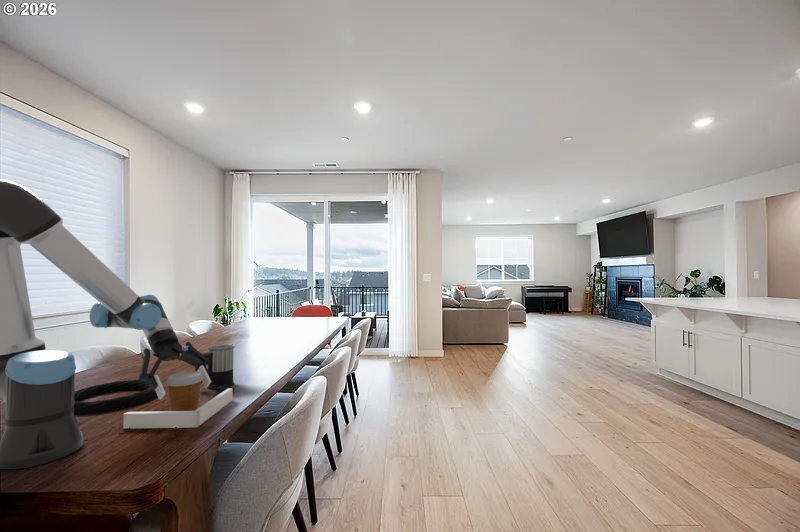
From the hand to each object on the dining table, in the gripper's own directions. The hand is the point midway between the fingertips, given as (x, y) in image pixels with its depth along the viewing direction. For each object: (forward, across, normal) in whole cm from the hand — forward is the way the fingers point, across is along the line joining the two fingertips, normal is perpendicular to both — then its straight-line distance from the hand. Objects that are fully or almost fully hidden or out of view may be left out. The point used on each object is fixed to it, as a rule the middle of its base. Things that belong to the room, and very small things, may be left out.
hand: (186, 390), depth 109 cm
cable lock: (-21, +3, -33) cm, 39 cm away
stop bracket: (+3, -1, -8) cm, 8 cm away
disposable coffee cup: (+5, 0, -6) cm, 8 cm away
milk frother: (-5, -22, -16) cm, 28 cm away
